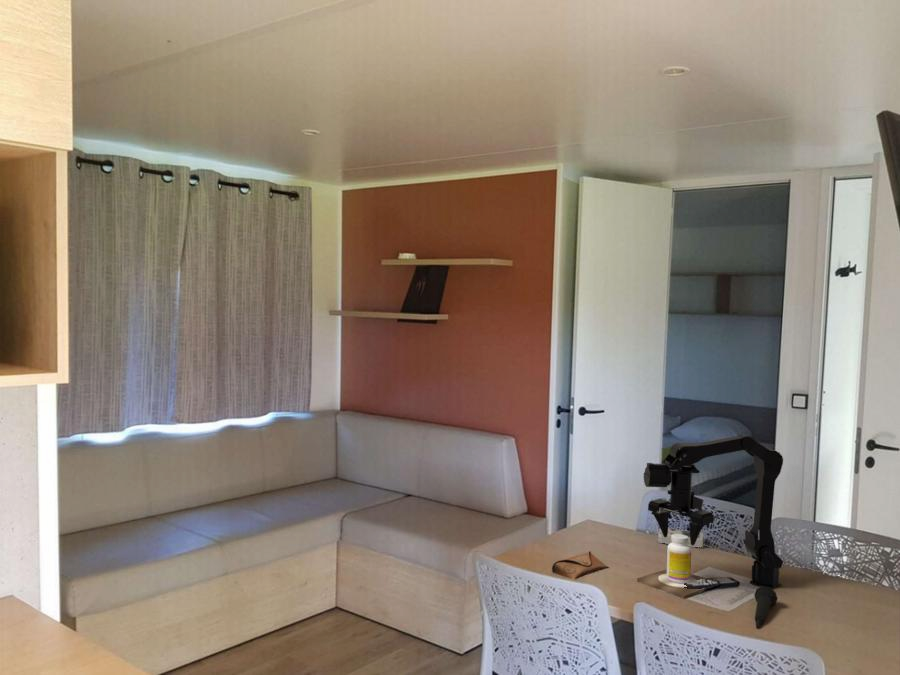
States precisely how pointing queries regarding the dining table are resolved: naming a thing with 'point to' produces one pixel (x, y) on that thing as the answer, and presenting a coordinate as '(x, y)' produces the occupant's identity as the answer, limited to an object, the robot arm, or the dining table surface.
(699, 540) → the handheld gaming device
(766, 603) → the microphone
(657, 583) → the brown flat square board
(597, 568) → the sunglasses case
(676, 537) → the supplement bottle
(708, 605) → the dining table surface
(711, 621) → the dining table surface
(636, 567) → the dining table surface
